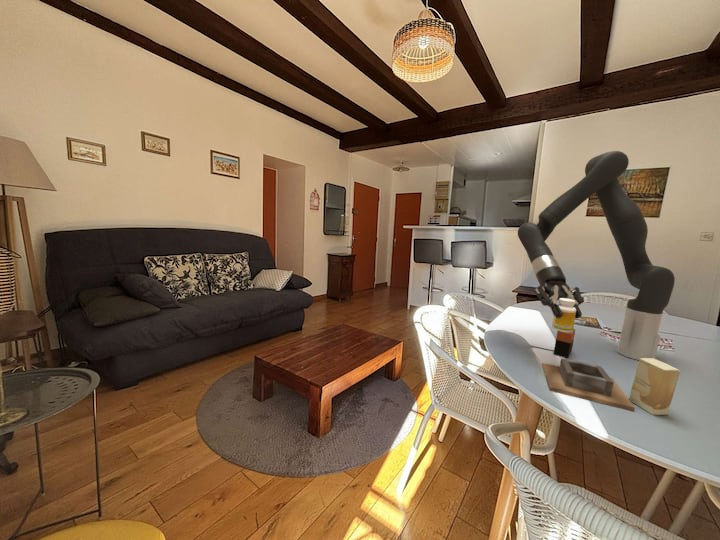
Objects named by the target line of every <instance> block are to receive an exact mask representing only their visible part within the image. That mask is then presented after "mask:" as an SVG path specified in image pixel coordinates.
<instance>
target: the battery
mask: <svg viewBox="0 0 720 540" xmlns="http://www.w3.org/2000/svg"><path fill="white" fill-rule="evenodd" d="M556 331H557V333H556V337H555V343H554V349H553V355H555V356H558V355H559V357H561V356H562V357H563V358H564V359H568V358H569V357H570V355H571V354H572V351H573V347H574V346H573V345H574V340H575V334H576V329H574V328H573V331H572V332H561V331H558V330H556ZM562 357H561V358H562Z"/></svg>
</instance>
